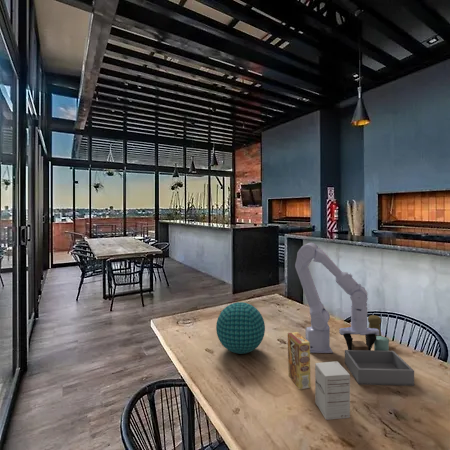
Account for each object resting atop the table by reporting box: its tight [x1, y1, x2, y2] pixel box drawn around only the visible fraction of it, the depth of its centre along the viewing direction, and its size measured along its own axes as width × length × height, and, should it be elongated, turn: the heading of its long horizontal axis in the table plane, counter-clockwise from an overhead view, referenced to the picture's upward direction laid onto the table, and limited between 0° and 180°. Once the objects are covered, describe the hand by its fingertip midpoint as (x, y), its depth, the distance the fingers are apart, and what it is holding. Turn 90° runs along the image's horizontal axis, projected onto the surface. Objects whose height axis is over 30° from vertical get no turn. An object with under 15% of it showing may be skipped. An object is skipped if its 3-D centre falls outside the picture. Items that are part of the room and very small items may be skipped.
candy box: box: [287, 331, 312, 390], centre depth 99 cm, size 9×4×15 cm, turn 13°
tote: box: [344, 349, 415, 387], centre depth 103 cm, size 18×14×5 cm
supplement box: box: [314, 361, 351, 420], centre depth 84 cm, size 7×7×13 cm
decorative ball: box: [215, 301, 266, 355], centre depth 121 cm, size 20×20×20 cm
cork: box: [367, 314, 382, 336], centre depth 128 cm, size 6×6×11 cm
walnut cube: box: [352, 340, 368, 350], centre depth 115 cm, size 5×5×5 cm
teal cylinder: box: [373, 335, 390, 351], centre depth 115 cm, size 5×5×7 cm
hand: (359, 352), depth 116 cm, fingers open, 6 cm apart
